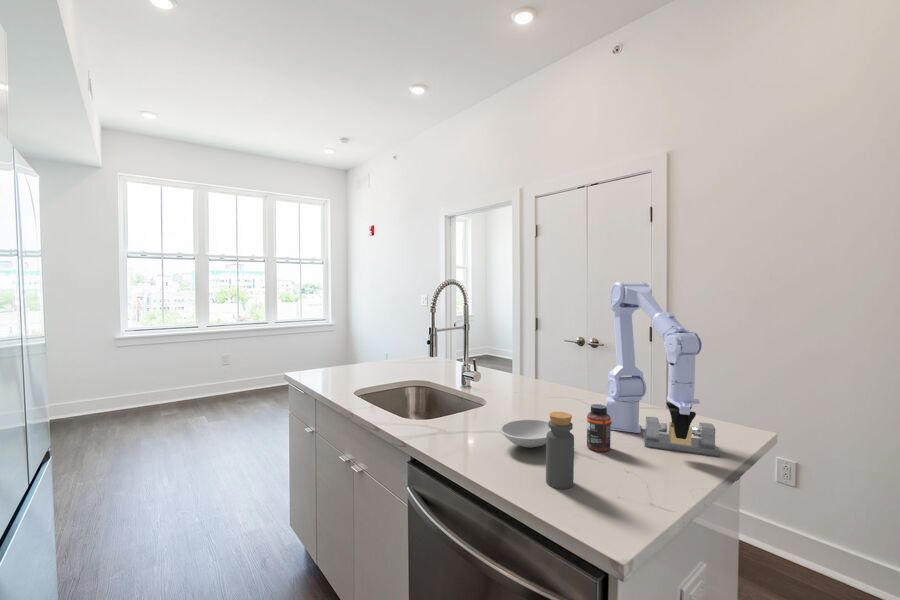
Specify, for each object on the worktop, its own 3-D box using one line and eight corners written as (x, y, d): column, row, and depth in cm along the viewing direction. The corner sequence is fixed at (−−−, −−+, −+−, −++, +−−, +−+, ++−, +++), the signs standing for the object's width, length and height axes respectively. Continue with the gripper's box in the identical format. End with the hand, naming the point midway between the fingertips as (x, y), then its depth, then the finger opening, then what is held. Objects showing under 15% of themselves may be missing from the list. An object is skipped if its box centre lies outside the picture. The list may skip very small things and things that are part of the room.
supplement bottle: (609, 445, 113) (610, 404, 112) (610, 454, 107) (611, 410, 107) (586, 442, 115) (587, 401, 114) (586, 450, 109) (587, 407, 109)
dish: (533, 432, 123) (533, 415, 122) (573, 448, 111) (573, 429, 110) (486, 445, 113) (487, 426, 112) (524, 464, 101) (525, 443, 101)
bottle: (542, 477, 94) (543, 410, 93) (567, 476, 94) (568, 410, 94) (550, 489, 88) (551, 419, 88) (577, 488, 89) (579, 418, 88)
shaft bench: (644, 446, 112) (645, 422, 112) (643, 436, 120) (643, 414, 119) (718, 456, 106) (719, 431, 106) (712, 445, 113) (712, 421, 113)
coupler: (670, 442, 103) (671, 425, 103) (668, 437, 107) (669, 420, 107) (691, 445, 102) (691, 427, 101) (688, 439, 105) (688, 422, 105)
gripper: (705, 389, 95) (703, 448, 96) (694, 376, 109) (693, 427, 109) (670, 386, 98) (669, 443, 99) (664, 373, 111) (662, 424, 112)
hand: (679, 435), depth 104 cm, fingers closed on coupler, 4 cm apart
